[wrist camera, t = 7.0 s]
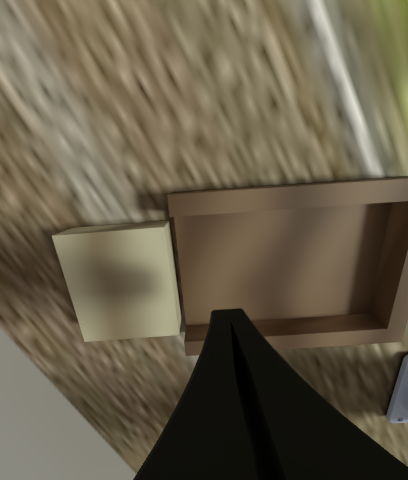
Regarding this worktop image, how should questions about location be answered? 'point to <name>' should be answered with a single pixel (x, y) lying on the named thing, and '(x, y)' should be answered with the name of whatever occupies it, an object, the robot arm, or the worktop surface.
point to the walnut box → (297, 260)
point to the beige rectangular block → (121, 279)
